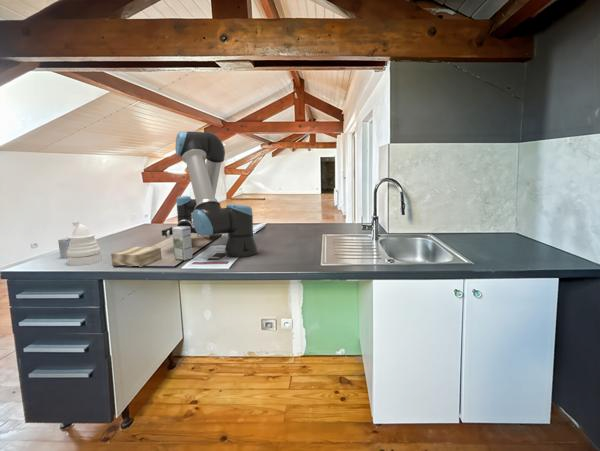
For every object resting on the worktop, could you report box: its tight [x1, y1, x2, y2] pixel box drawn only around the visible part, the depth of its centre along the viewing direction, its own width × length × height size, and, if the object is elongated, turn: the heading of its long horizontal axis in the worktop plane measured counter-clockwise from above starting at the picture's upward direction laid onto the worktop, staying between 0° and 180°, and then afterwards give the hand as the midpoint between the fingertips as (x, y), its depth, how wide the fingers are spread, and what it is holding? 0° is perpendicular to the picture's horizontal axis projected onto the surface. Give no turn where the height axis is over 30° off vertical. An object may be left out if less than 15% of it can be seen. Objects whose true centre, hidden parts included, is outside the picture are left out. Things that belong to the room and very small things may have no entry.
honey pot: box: [66, 221, 103, 266], centre depth 157 cm, size 13×13×18 cm
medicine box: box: [57, 237, 71, 259], centre depth 168 cm, size 8×4×9 cm, turn 168°
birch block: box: [110, 246, 162, 268], centre depth 156 cm, size 14×14×5 cm
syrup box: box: [172, 226, 193, 261], centre depth 159 cm, size 6×6×14 cm
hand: (183, 234), depth 169 cm, fingers open, 13 cm apart
